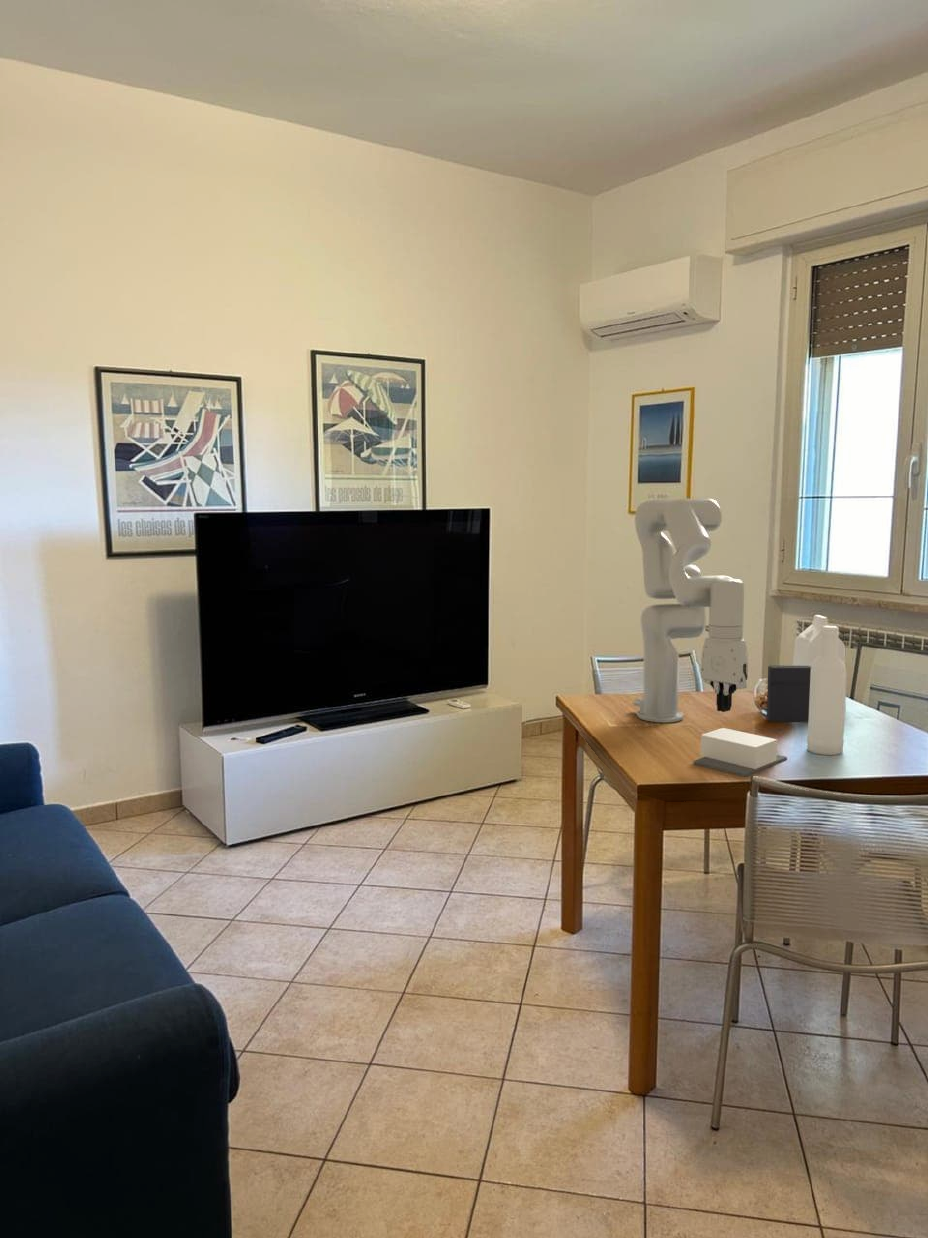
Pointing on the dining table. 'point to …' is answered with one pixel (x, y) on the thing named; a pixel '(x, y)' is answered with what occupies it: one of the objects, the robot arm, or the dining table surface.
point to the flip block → (739, 748)
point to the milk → (813, 644)
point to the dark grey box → (788, 693)
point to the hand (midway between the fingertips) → (723, 710)
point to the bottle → (827, 697)
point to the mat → (734, 765)
